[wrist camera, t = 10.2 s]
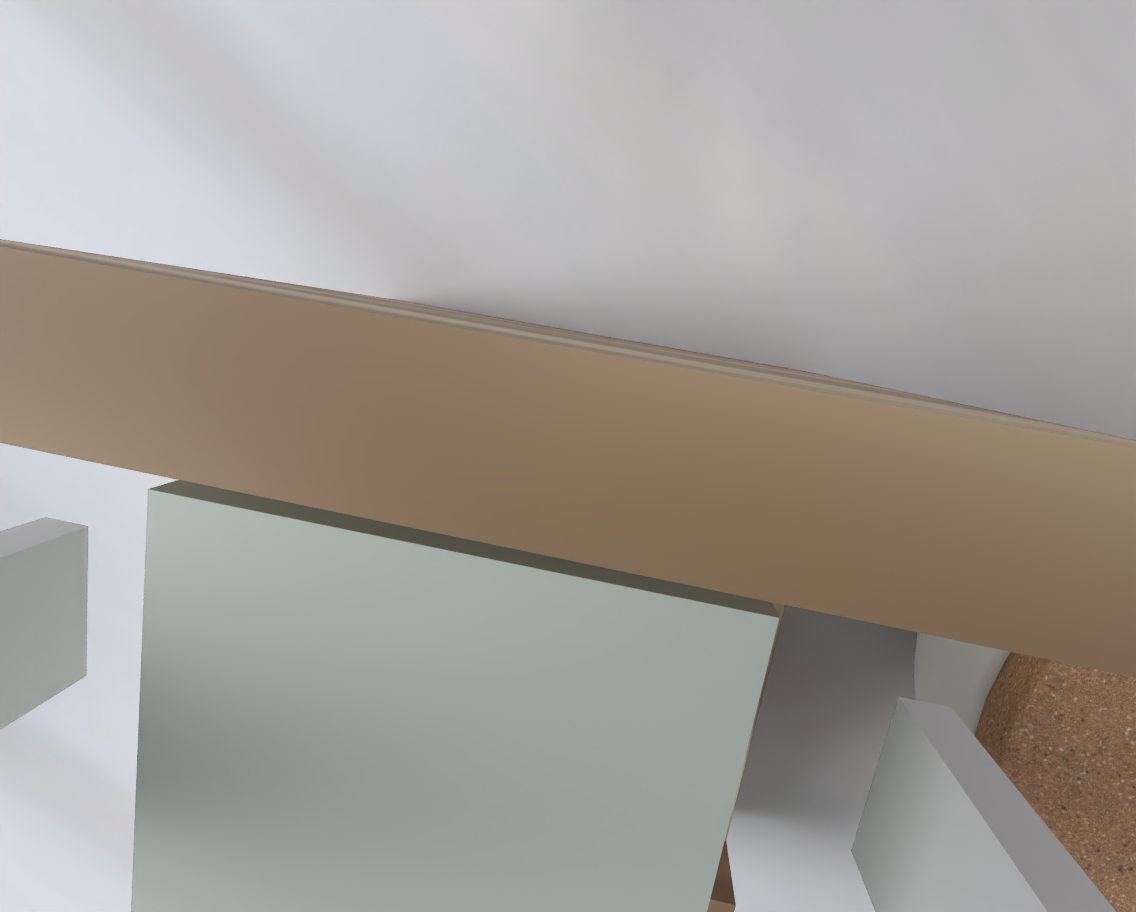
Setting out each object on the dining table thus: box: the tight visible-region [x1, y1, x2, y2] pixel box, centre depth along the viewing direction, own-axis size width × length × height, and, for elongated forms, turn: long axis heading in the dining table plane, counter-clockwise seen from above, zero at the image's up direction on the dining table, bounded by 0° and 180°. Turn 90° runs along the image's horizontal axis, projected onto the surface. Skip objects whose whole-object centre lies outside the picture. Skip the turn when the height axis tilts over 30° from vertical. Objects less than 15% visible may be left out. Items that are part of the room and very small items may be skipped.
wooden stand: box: [0, 239, 1136, 912], centre depth 13 cm, size 14×12×14 cm
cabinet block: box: [131, 480, 779, 912], centre depth 12 cm, size 8×7×9 cm
